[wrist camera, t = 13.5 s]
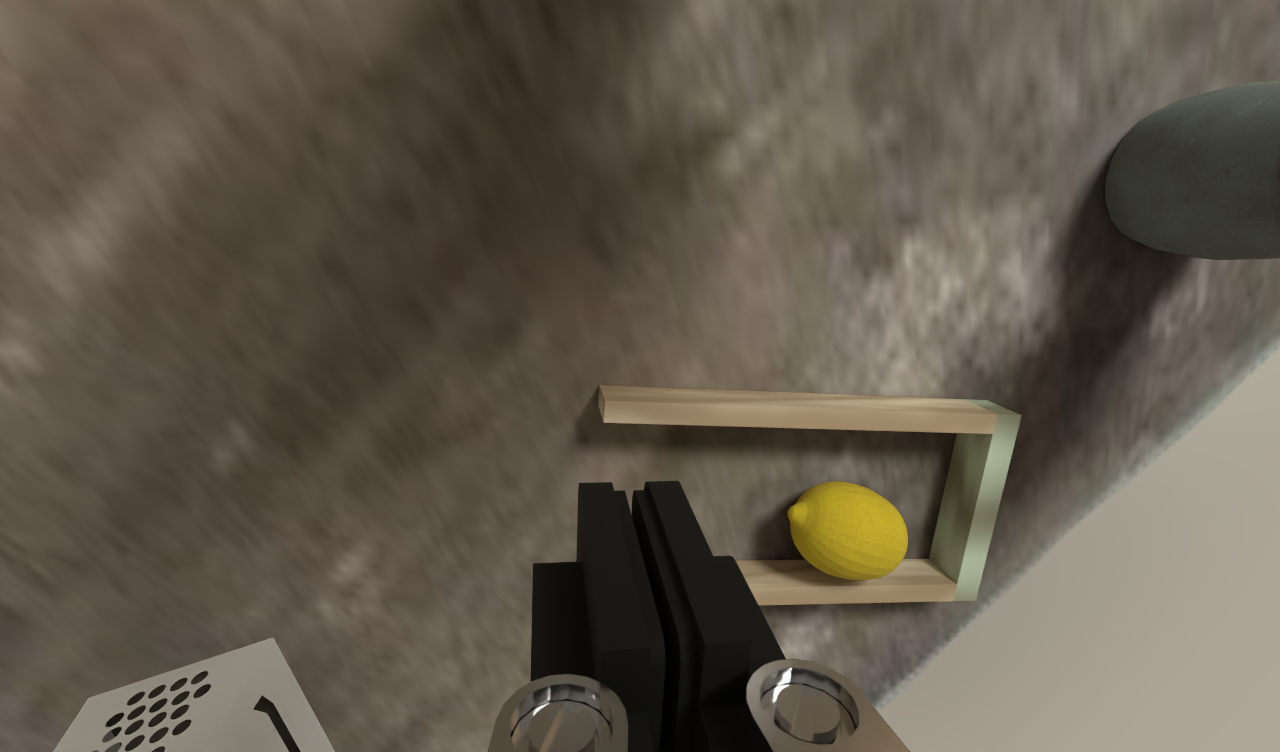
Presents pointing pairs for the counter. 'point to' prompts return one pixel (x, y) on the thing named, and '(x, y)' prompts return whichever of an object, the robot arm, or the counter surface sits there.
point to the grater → (207, 709)
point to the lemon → (848, 531)
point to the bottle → (1203, 176)
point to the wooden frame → (976, 422)
